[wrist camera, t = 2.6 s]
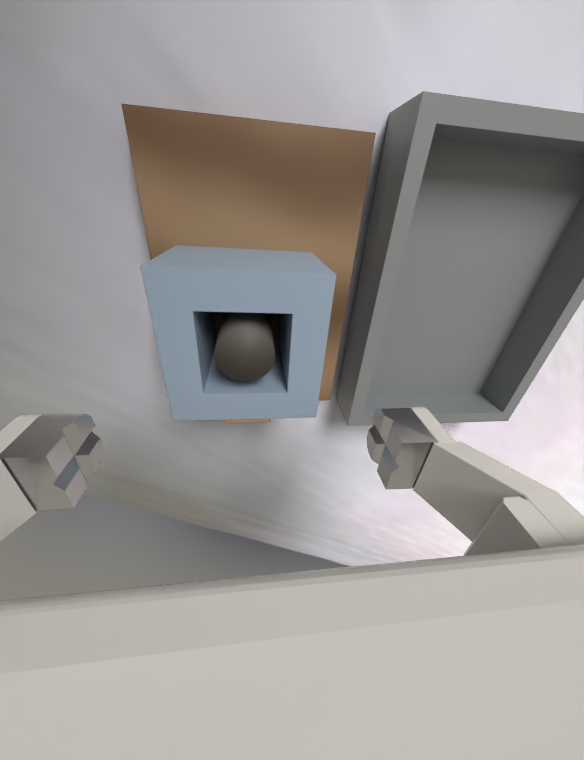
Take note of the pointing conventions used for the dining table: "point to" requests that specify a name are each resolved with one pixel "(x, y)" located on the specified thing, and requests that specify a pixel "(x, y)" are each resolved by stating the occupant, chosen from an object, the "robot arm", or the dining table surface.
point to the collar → (239, 294)
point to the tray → (466, 259)
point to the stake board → (252, 207)
